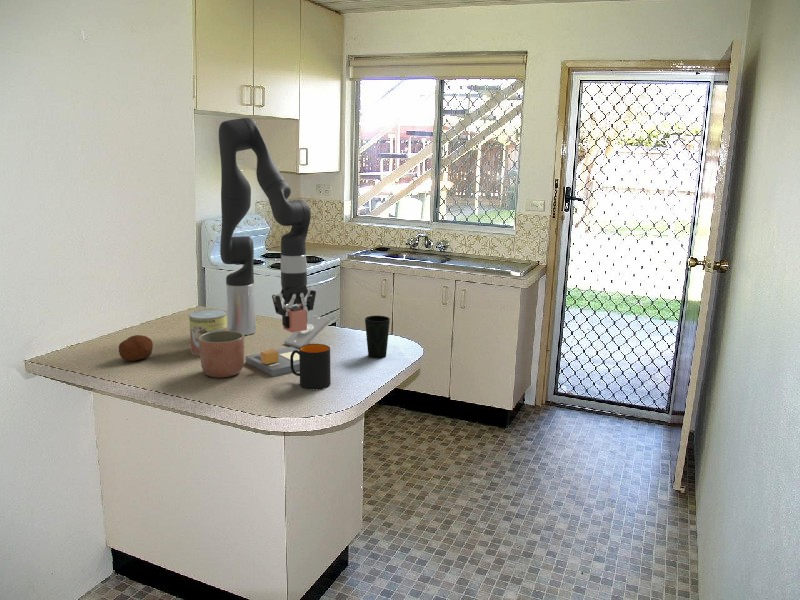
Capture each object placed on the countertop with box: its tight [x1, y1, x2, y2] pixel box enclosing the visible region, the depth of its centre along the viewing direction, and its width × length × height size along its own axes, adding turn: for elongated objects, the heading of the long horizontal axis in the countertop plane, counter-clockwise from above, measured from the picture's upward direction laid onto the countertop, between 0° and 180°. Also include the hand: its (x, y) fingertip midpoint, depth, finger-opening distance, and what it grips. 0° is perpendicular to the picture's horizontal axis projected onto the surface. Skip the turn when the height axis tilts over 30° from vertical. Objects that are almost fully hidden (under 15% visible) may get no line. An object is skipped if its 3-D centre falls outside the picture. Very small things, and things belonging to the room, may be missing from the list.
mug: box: [290, 343, 332, 391], centre depth 183 cm, size 8×12×10 cm
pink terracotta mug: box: [198, 330, 245, 379], centre depth 190 cm, size 12×12×11 cm
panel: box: [244, 346, 300, 377], centre depth 200 cm, size 16×16×2 cm
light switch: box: [283, 314, 331, 349], centre depth 222 cm, size 8×6×14 cm
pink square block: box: [282, 305, 308, 334], centre depth 199 cm, size 5×5×7 cm
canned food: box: [188, 309, 228, 357], centre depth 211 cm, size 11×11×12 cm
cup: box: [364, 315, 391, 360], centre depth 208 cm, size 8×8×12 cm
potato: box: [118, 334, 154, 362], centre depth 202 cm, size 8×11×8 cm
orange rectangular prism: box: [260, 349, 279, 364], centre depth 194 cm, size 3×4×3 cm
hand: (295, 326), depth 199 cm, fingers closed on pink square block, 5 cm apart
